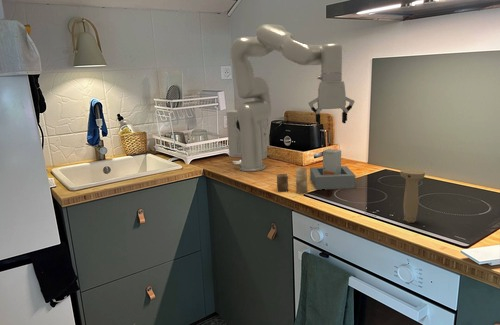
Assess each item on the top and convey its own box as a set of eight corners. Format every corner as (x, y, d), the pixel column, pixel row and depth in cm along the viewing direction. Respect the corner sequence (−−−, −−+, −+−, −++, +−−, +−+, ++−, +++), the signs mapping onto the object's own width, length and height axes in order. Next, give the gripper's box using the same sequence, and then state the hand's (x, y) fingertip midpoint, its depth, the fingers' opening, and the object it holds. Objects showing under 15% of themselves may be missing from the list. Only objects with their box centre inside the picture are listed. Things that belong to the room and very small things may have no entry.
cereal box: (270, 156, 205) (268, 110, 200) (263, 159, 199) (261, 111, 193) (236, 153, 216) (233, 110, 210) (229, 156, 210) (226, 111, 204)
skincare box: (322, 179, 152) (322, 150, 149) (328, 177, 155) (328, 148, 152) (335, 182, 148) (335, 152, 145) (341, 179, 150) (341, 150, 148)
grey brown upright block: (297, 194, 141) (296, 170, 138) (295, 190, 144) (295, 168, 142) (307, 193, 140) (307, 170, 138) (306, 190, 144) (306, 167, 142)
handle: (402, 216, 115) (404, 168, 111) (424, 220, 111) (427, 171, 107) (395, 221, 111) (397, 172, 108) (418, 226, 107) (421, 175, 104)
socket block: (315, 189, 144) (315, 177, 143) (310, 179, 159) (310, 167, 158) (355, 188, 144) (355, 175, 143) (346, 177, 158) (346, 165, 157)
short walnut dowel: (277, 192, 144) (277, 176, 143) (277, 188, 148) (276, 174, 147) (288, 191, 144) (287, 176, 143) (287, 188, 148) (287, 173, 147)
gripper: (309, 79, 138) (310, 125, 142) (357, 77, 138) (356, 123, 142) (306, 79, 146) (307, 123, 150) (352, 76, 145) (351, 121, 149)
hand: (331, 123), depth 146 cm, fingers open, 9 cm apart
